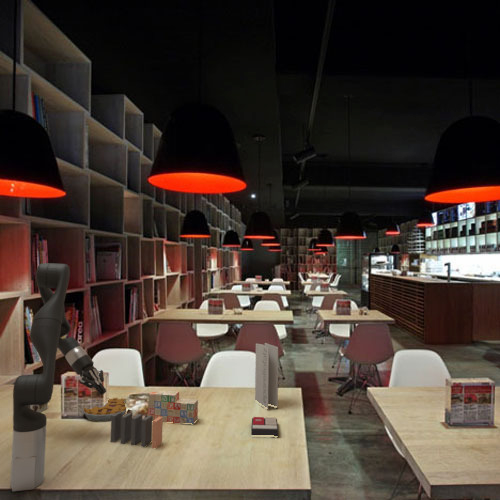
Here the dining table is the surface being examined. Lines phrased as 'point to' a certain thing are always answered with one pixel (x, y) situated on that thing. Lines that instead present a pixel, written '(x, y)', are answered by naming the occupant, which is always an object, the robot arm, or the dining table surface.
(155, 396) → the stack of blocks
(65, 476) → the dining table surface
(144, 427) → the domino
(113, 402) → the berry pie
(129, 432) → the domino
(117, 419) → the domino
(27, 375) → the robot arm
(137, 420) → the domino
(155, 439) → the end domino
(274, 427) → the book
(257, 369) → the brochure
